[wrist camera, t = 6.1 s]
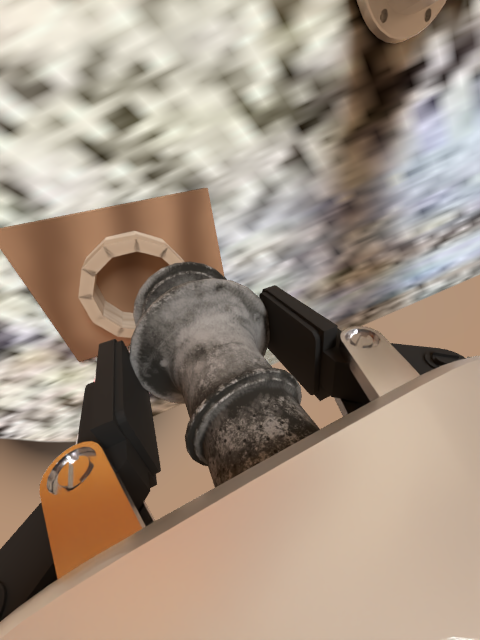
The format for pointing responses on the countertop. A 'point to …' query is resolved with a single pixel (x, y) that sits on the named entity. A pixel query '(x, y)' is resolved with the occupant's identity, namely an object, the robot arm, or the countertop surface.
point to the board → (108, 261)
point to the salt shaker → (215, 368)
